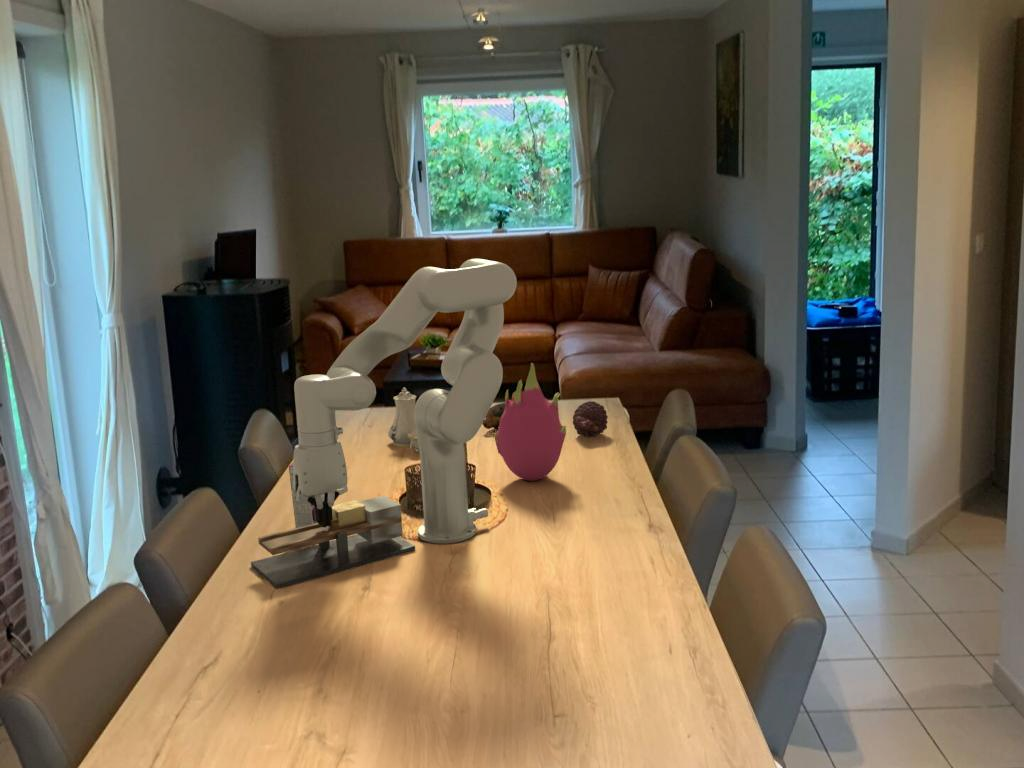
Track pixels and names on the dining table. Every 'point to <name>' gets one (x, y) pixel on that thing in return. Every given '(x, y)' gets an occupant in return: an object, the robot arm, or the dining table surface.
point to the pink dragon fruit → (530, 431)
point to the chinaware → (404, 422)
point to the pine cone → (590, 419)
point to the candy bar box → (302, 507)
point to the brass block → (348, 514)
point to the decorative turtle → (494, 416)
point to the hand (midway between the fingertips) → (324, 524)
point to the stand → (327, 559)
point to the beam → (378, 527)
